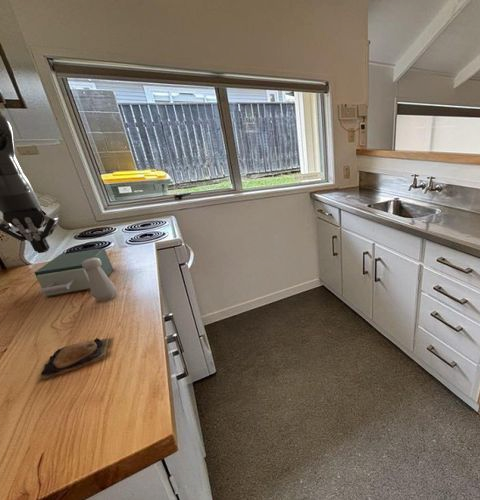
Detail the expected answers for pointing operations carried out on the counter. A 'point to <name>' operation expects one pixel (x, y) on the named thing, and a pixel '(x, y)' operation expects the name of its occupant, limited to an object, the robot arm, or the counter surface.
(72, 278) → the drawer
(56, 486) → the counter surface
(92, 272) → the salt shaker
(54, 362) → the brown and black piece
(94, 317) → the counter surface
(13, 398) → the counter surface
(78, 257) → the cabinet
